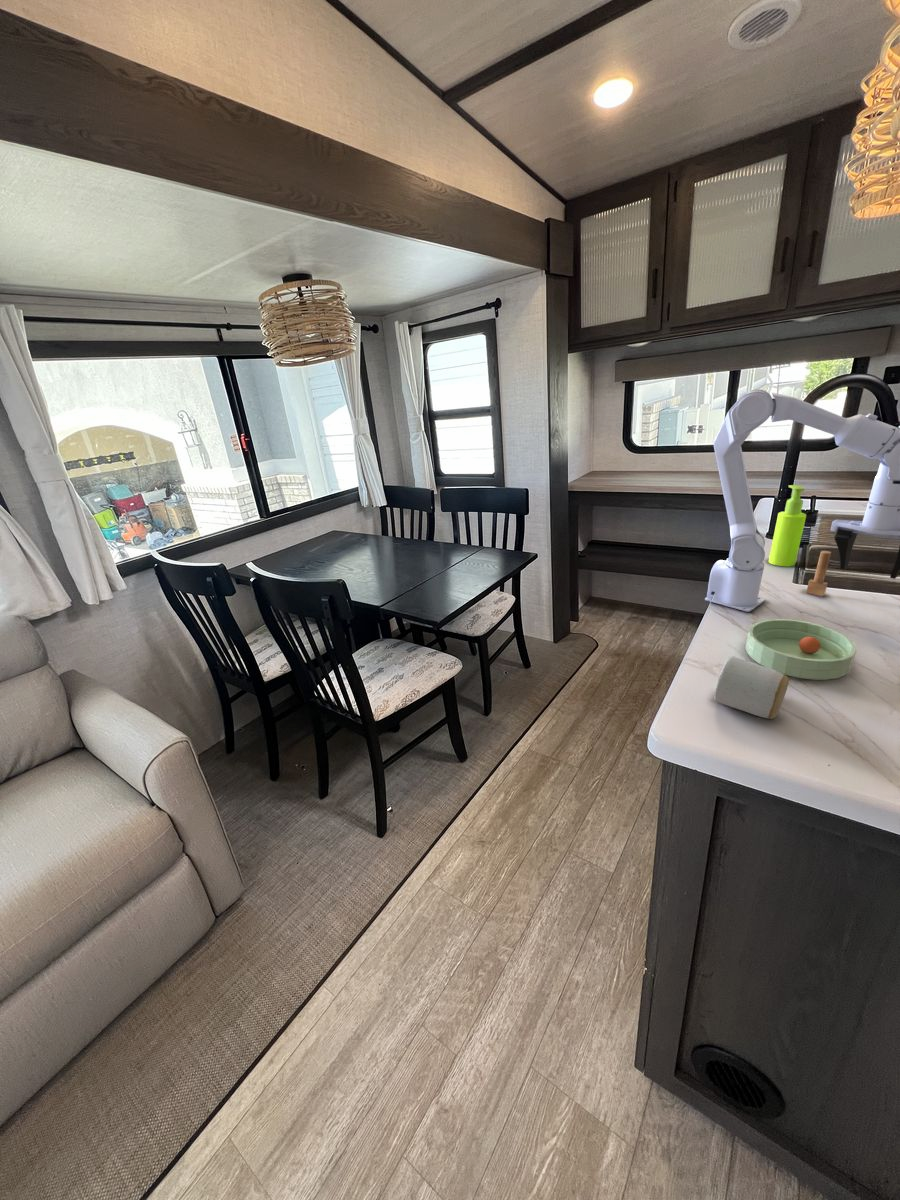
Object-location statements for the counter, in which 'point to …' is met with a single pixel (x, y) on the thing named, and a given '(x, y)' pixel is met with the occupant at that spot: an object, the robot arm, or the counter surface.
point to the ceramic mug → (751, 687)
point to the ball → (809, 645)
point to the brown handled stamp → (819, 576)
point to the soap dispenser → (788, 531)
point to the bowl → (781, 650)
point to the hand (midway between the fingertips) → (867, 572)
